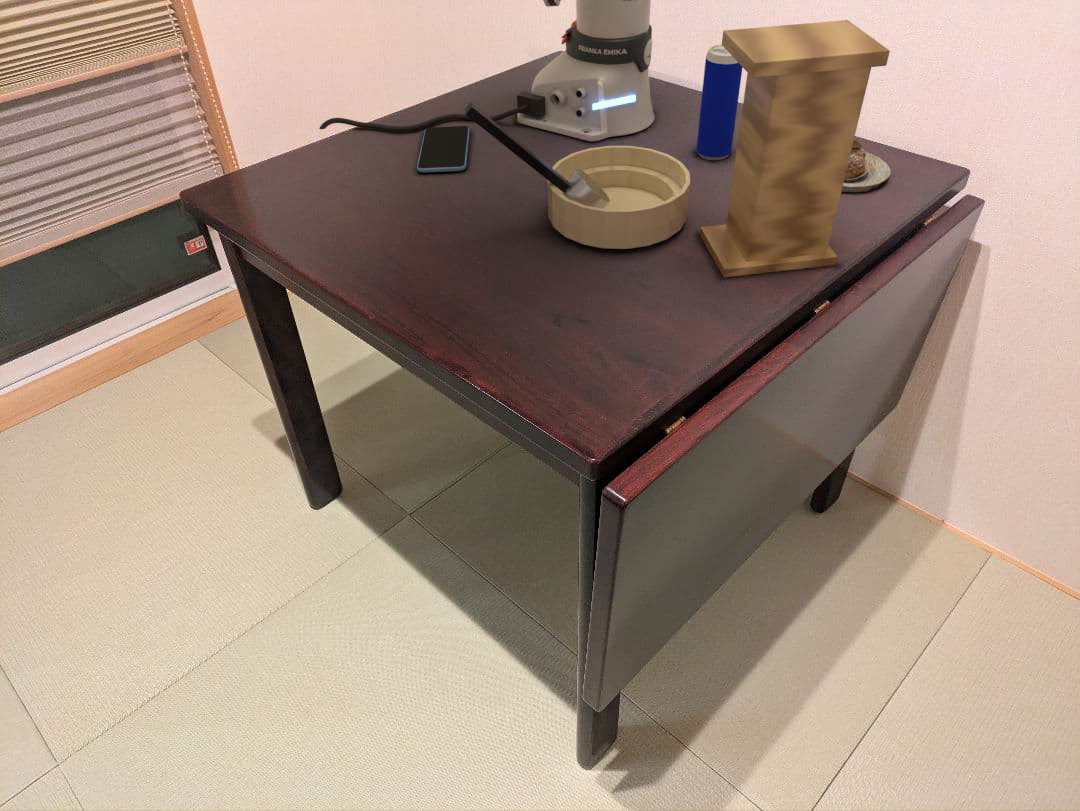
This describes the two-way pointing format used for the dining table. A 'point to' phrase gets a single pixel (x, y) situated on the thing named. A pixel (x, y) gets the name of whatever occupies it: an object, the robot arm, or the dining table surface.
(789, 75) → the wooden column stand
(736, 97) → the beverage can
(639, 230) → the bowl
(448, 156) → the smartphone
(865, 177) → the pastry
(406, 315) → the dining table surface
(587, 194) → the black handled spatula
